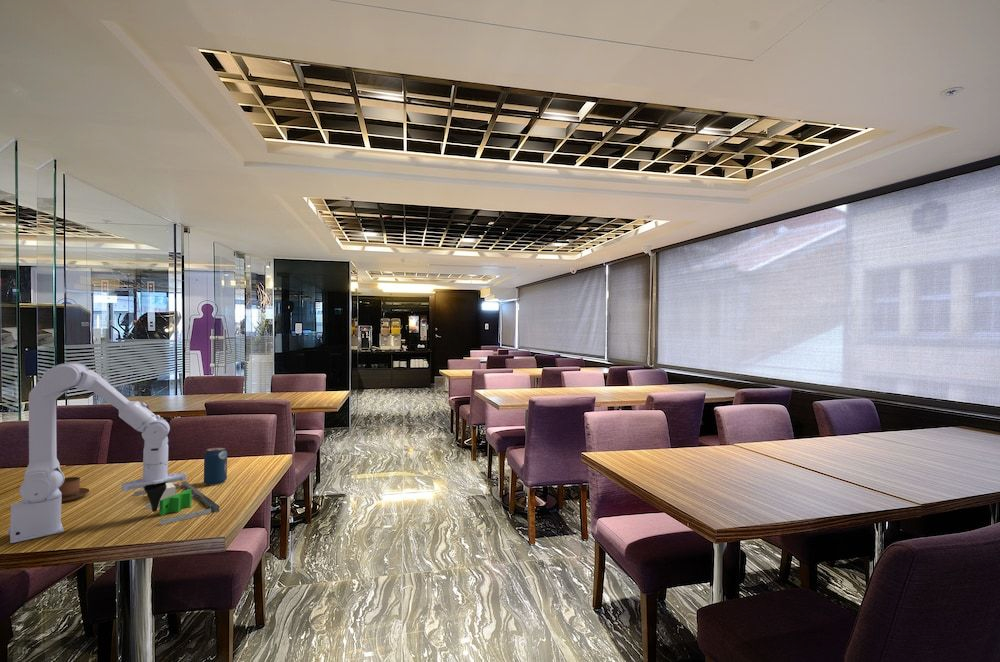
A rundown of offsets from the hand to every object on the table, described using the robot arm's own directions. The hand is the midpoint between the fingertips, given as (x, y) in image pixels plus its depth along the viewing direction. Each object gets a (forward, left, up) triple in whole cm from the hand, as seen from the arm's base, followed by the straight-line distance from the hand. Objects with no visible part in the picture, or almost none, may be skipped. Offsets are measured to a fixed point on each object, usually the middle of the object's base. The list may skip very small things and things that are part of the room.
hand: (154, 510), depth 129 cm
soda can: (+22, +23, -2) cm, 32 cm away
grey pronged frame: (+7, +9, -1) cm, 11 cm away
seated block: (+6, +18, -1) cm, 19 cm away
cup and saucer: (-16, +39, -2) cm, 42 cm away
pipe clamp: (+6, +1, -2) cm, 6 cm away
